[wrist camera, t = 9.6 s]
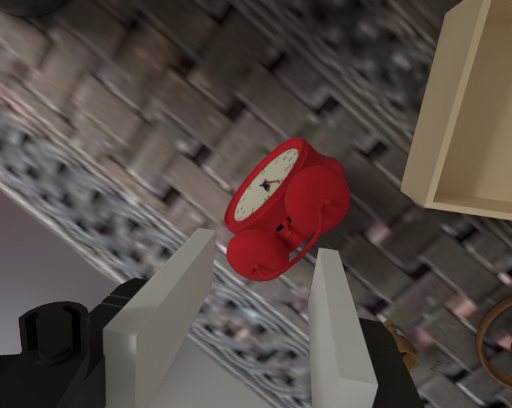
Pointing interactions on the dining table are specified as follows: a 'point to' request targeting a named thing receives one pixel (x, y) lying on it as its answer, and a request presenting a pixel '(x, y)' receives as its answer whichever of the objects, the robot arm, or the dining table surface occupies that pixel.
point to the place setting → (501, 378)
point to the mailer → (467, 116)
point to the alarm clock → (284, 209)
